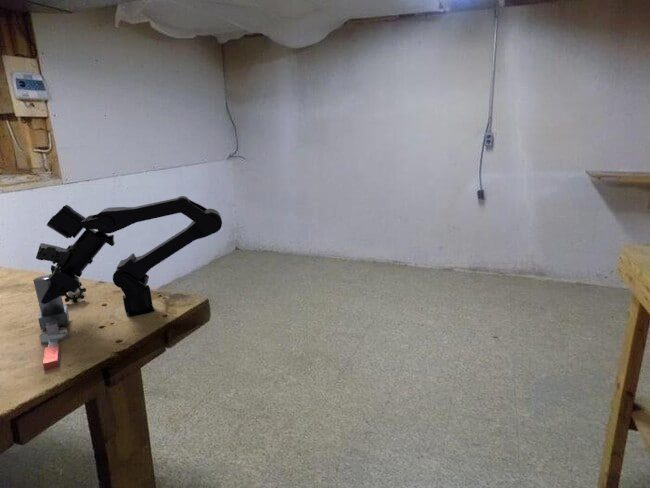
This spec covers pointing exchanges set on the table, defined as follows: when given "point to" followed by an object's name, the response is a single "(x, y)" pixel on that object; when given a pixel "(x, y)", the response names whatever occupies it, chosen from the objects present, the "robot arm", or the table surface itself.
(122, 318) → the table surface
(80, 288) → the valve
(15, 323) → the table surface
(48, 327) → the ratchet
